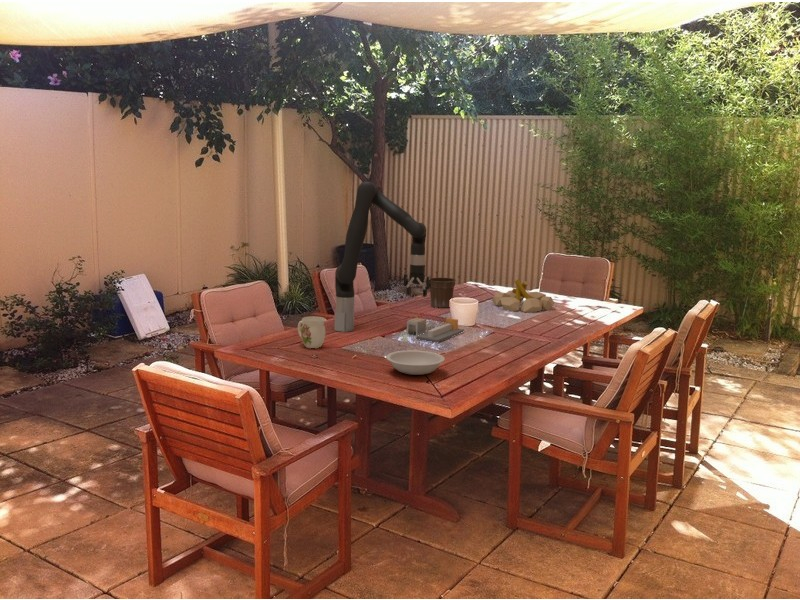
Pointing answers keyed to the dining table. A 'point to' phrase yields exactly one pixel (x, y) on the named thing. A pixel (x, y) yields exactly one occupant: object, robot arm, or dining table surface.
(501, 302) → the campfire
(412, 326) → the lock block
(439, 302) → the plant pot
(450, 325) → the coupler stand
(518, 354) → the dining table surface
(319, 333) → the pitcher
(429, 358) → the soup bowl
